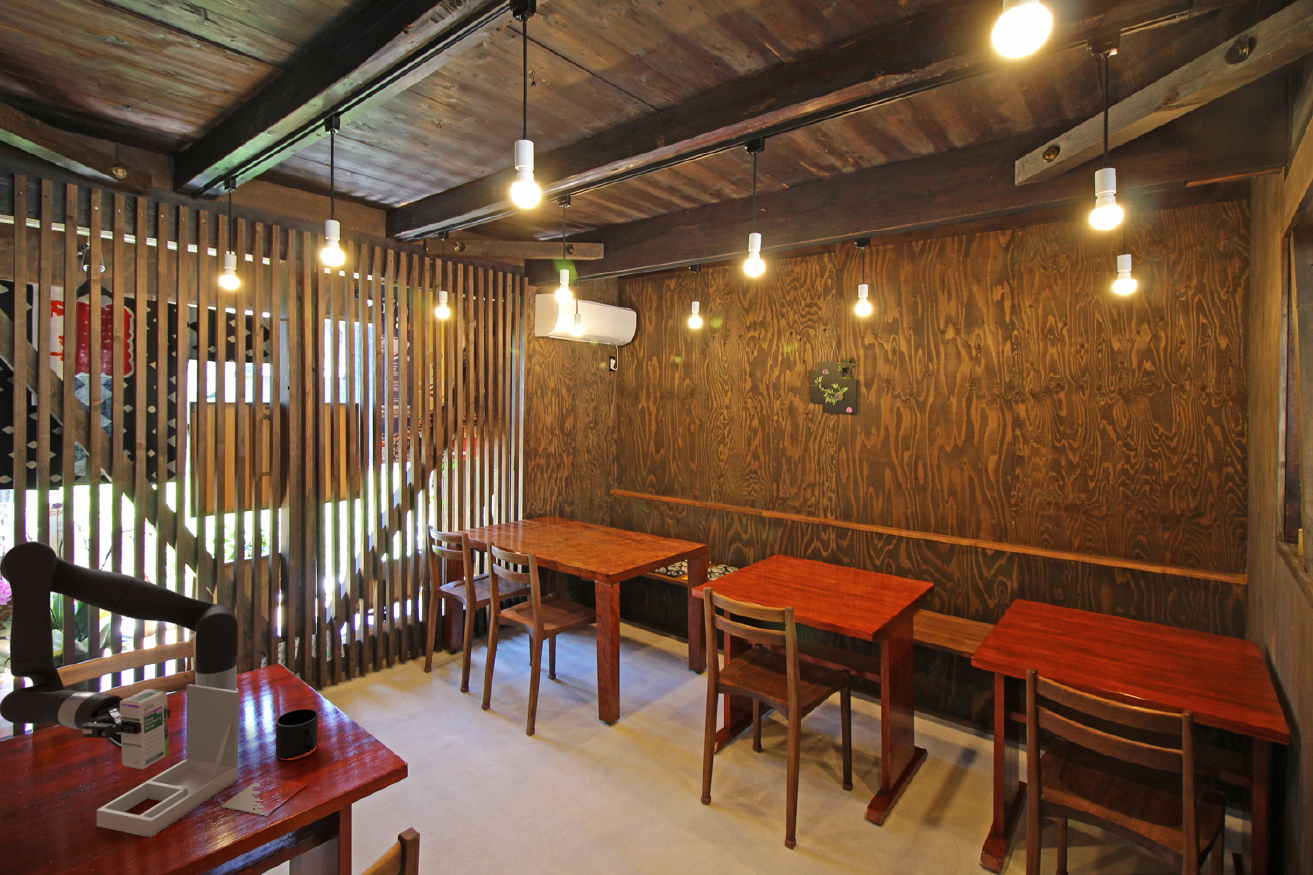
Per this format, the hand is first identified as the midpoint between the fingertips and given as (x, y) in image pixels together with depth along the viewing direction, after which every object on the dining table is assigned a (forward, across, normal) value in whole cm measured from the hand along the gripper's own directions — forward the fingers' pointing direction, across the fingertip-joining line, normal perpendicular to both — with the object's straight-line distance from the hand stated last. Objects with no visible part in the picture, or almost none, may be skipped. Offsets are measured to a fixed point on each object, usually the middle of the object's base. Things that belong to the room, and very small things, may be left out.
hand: (154, 721), depth 135 cm
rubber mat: (+17, +12, +21) cm, 29 cm away
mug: (+11, +28, +22) cm, 37 cm away
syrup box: (-2, 0, +9) cm, 10 cm away
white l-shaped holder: (-1, +4, +21) cm, 21 cm away
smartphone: (-39, +24, +22) cm, 51 cm away
